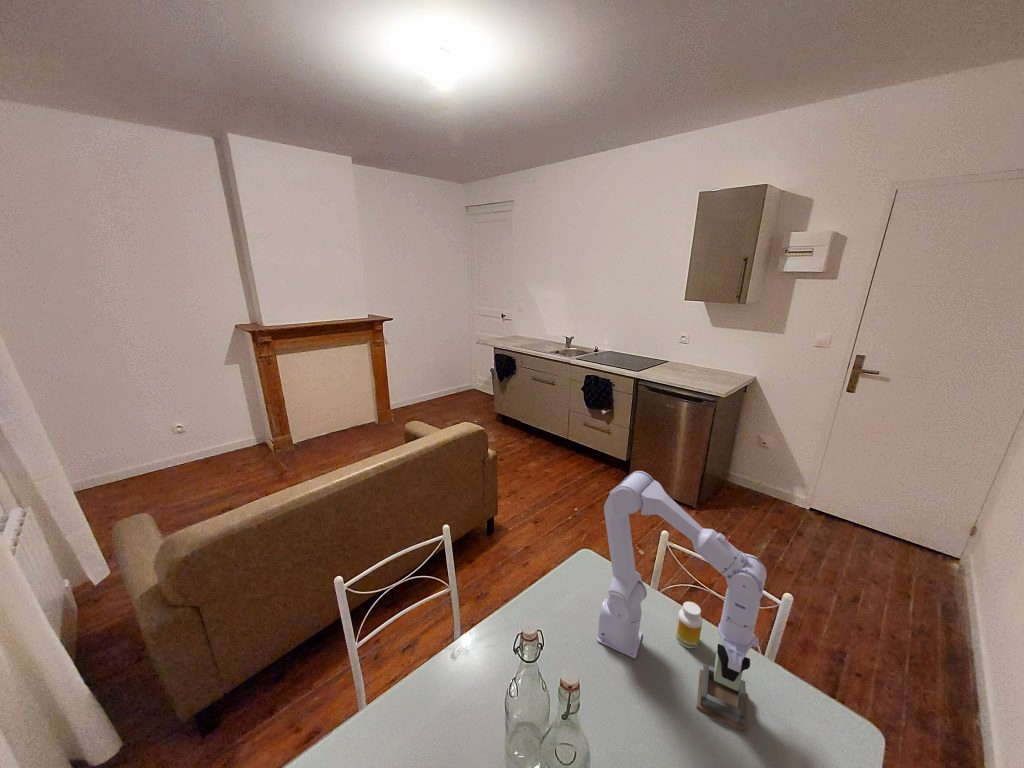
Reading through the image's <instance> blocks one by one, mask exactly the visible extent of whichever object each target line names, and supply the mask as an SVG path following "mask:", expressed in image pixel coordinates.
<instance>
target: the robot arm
mask: <svg viewBox="0 0 1024 768" xmlns="http://www.w3.org/2000/svg"><path fill="white" fill-rule="evenodd" d="M639 510H641V512H640V515H641V516H655V515H658V516H659V517H660V518H661V519H664V521H666V522H667V523H668V524H670V525H671V526H672V527H673V528H675V529H676V530H677V531H679V532H681V534H683V535H684V536H686V537H687V538H688V539H689V540H691V542H692V545H693V550H694V551H695V552H696V553H697V554H698V555H699V556H701V557H702V558H703V559H704V560H705V561H706V562H707V563H709V565H711V567H713V568H714V569H715V570H716V571H717V572H719V573H720V574H721V575H722V576H723V577H725V579H726V585H727V589H726V592H725V596H724V601H723V607H722V611H721V618H720V620H718V626H717V631H718V634H719V638H720V637H721V640H722V642H723V644H724V646H723V645H720V644H719V643H717V646H716V647H717V650H716V654H717V653H718V657H719V658H720V661H721V669H722V677H723V678H726V679H728V680H730V681H732V682H734V681H735V680H736V678H737V677H738V675H739V674H740V673H741V672H742V671H745V670H749V668H750V666H751V658H749V657H747V654H748V653H749V651H750V649H751V648H752V647H755V648H759V645H760V642H759V641H760V639H759V638H758V636H755V635H754V633H755V629H756V625H757V624H756V623H757V619H758V615H759V610H760V606H761V599H762V598H763V596H764V593H763V592H764V588H765V585H766V579H767V574H768V573H767V569H766V566H765V565H764V563H763V562H761V560H760V559H759V557H757V556H755V555H752V554H749V553H744V552H743V551H740V550H739V549H738V548H736V547H735V546H734V545H733V544H732V543H730V542H729V541H728V540H727V539H726V536H725V535H724V534H722V533H721V532H719V533H718V532H717V531H716V530H714V529H713V528H704V527H702V526H701V525H700V524H699V523H698V522H697V521H696V520H695V519H694V517H692V516H691V515H690V514H688V513H687V511H686V510H684V509H683V508H682V507H681V506H680V505H679V504H678V503H677V502H676V501H675V500H674V499H672V498H671V497H670V496H669V494H668V493H666V491H665V490H664V488H663V486H662V484H661V483H660V482H659V481H657V480H655V479H653V477H652V476H651V475H650V474H649V473H647V472H645V471H643V470H636V471H633V472H632V473H630V474H629V475H628V476H625V478H624V479H623V480H622V481H621V482H620V483H619V484H618V485H617V486H615V487H614V488H613V489H612V490H611V491H610V492H609V494H608V497H607V499H606V501H605V502H604V504H603V513H604V519H605V520H604V521H605V526H606V527H605V528H606V534H607V535H606V536H607V540H608V549H609V555H610V561H611V563H610V564H611V570H612V578H611V582H610V585H609V589H608V598H604V600H603V602H602V605H601V609H600V613H599V619H598V628H597V629H598V630H597V637H596V641H597V642H598V643H600V644H602V645H605V646H606V647H609V648H611V649H613V650H615V651H617V652H620V653H622V654H624V655H626V656H628V657H630V658H633V659H636V658H637V655H638V651H639V647H640V643H641V641H642V636H643V631H641V630H640V628H641V619H642V605H641V604H642V602H643V601H644V600H645V599H646V598H647V596H648V593H647V588H646V585H645V584H644V582H643V579H642V574H641V573H639V572H638V571H636V563H635V554H634V547H633V539H632V531H631V524H630V515H633V514H634V513H638V511H639ZM742 673H743V672H742Z"/></svg>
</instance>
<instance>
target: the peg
mask: <svg viewBox="0 0 1024 768" xmlns="http://www.w3.org/2000/svg"><path fill="white" fill-rule="evenodd" d="M718 644H720V645H723V646H724V644H723V642H722V640H721V637H720V636H719V639H718ZM714 668H715V669H714V681H716V682H718V683H721V684H723V685H725V686H727V687H730V688H732V689H734V690H736V691H738V690H739V686H740V681H741V680H742V676H743V671H744V670H743V671H742V672H741V673H740V674H739V675H738V677H737V678H736V680H735V681H734V682H732V681H730V680H728V679H726V678H723V677H722V669H721V661H720V658H719V657H718V653H717V652H716V655H715V659H714Z"/></svg>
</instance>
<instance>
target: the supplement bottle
mask: <svg viewBox="0 0 1024 768" xmlns="http://www.w3.org/2000/svg"><path fill="white" fill-rule="evenodd" d="M701 613H702V610H701V608H700V606H699V605H698V604H697V603H695V602H693V601H685V602H683V604H682V608H681V609H679V610H678V614H677V622H676V627H675V638H676V640H677V642H678V643H679V644H680V645H681V646H683V647H684V648H687V649H695V648H697V647H699V643H700V638H701V632H702V627H703V618H702V616H701Z"/></svg>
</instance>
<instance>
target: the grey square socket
mask: <svg viewBox="0 0 1024 768" xmlns="http://www.w3.org/2000/svg"><path fill="white" fill-rule="evenodd" d="M714 669H715V667H714V666H711V665H709V664H707V663H704V664H703V669H700V670H699V679H698V687H697V699H696V709H697V710H698V711H701V712H703V713H705V714H707V715H708V716H711V717H714V718H715V719H718V721H719V720H720V721H721V722H723V723H726V724H728V725H729V726H732V727H733V728H736V729H737V730H740V731H741V732H744V733H747V731H748V721H747V718H748V717H747V689H746V681H745V680H744V679H741V681H740V686H739V690H738V691H736V690H734V689H732V688H730V687H727V686H725V685H723V684H721V683H718V682H716V681H714Z"/></svg>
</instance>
